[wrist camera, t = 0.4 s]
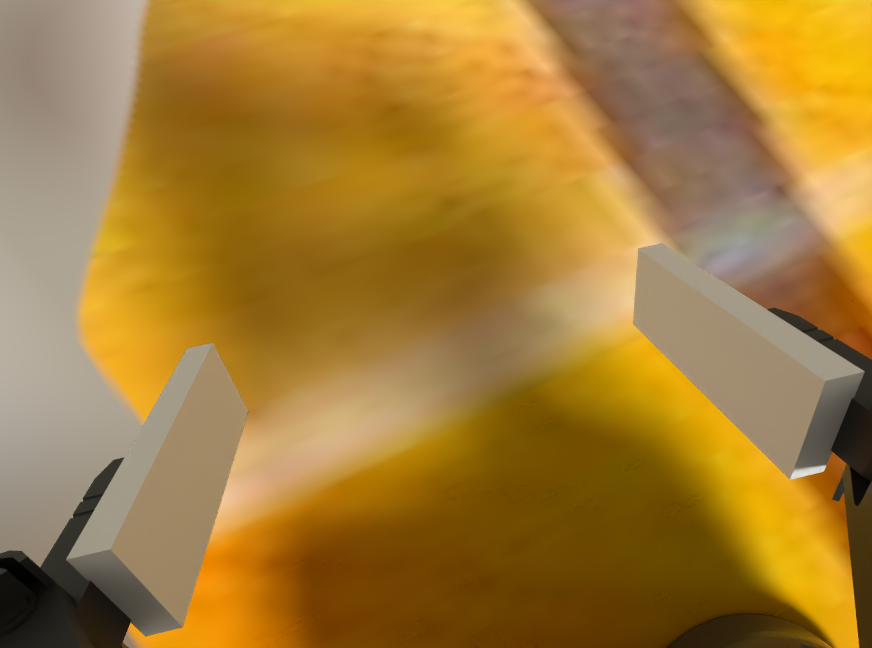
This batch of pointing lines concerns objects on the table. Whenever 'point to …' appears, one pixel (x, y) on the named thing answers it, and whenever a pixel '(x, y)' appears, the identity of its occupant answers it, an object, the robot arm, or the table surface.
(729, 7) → the table surface
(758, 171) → the table surface
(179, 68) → the table surface
